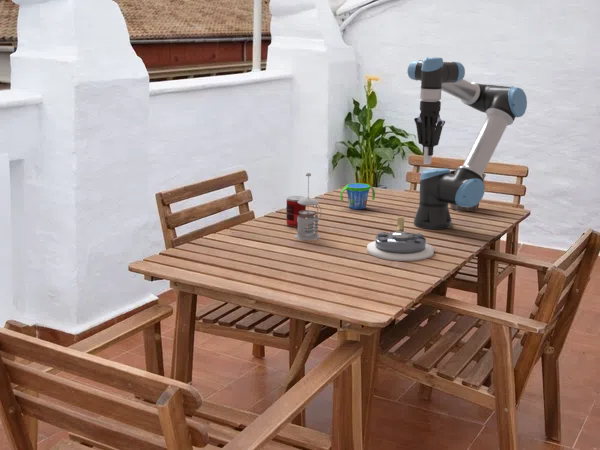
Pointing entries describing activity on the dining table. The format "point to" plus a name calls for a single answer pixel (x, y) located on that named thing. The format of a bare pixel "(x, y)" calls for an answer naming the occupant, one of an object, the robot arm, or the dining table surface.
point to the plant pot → (465, 207)
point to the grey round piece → (400, 240)
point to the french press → (309, 232)
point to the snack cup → (357, 195)
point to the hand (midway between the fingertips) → (427, 163)
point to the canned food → (294, 210)
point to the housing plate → (400, 257)
